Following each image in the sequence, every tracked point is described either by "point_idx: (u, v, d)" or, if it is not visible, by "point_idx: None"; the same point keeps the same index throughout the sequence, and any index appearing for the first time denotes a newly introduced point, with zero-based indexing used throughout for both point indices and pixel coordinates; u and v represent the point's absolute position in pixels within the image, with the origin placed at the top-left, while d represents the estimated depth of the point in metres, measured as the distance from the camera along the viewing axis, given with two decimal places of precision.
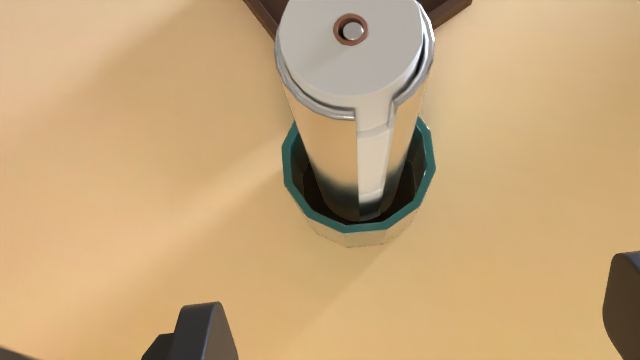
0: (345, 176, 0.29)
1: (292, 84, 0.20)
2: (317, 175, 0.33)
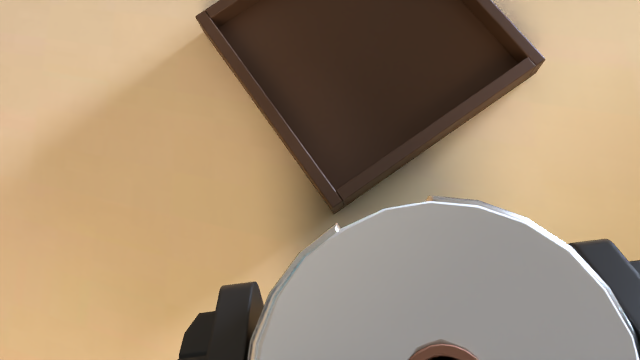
0: None
1: None
2: None
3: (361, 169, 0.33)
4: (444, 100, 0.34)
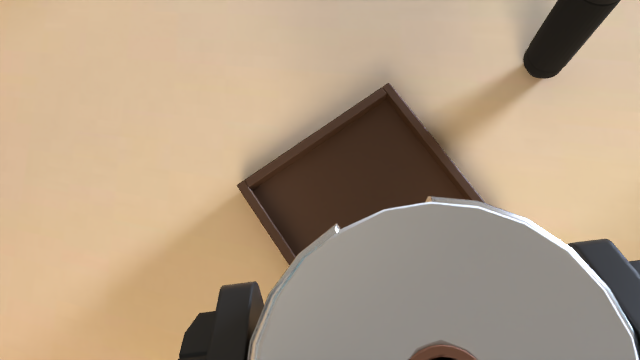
0: None
1: None
2: None
3: None
4: None
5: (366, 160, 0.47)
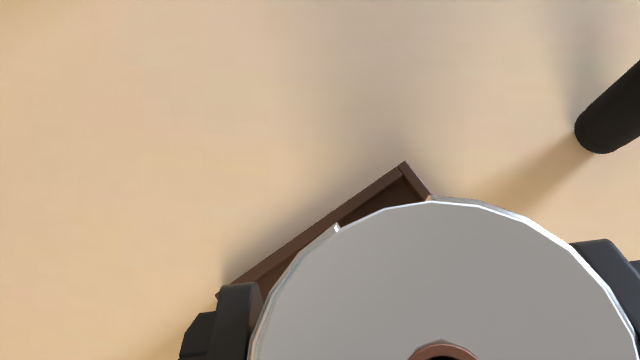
0: None
1: None
2: None
3: None
4: None
5: None
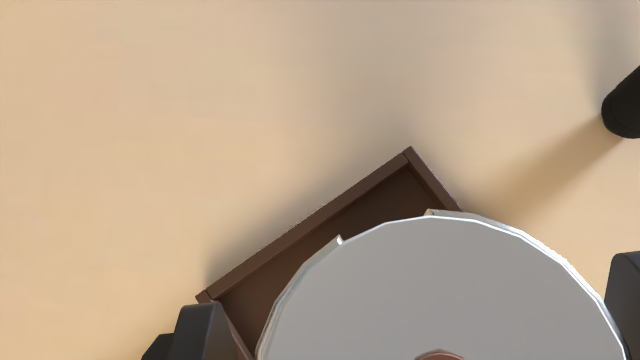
0: None
1: None
2: None
3: None
4: None
5: None
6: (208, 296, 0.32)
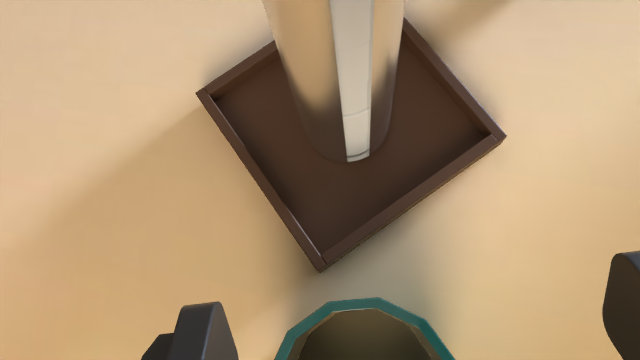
0: (323, 74, 0.24)
1: None
2: (294, 90, 0.29)
3: (344, 233, 0.37)
4: (418, 170, 0.38)
5: None
6: (206, 92, 0.39)
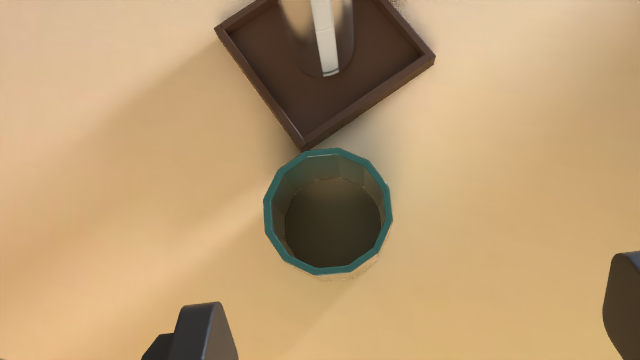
0: None
1: None
2: (283, 11, 0.44)
3: (320, 126, 0.52)
4: (374, 82, 0.53)
5: None
6: (221, 27, 0.54)
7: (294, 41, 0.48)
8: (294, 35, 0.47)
